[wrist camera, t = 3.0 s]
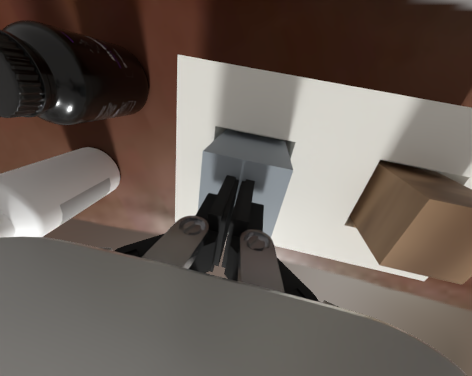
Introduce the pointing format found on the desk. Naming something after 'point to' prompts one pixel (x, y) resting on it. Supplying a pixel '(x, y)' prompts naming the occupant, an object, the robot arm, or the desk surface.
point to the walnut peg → (417, 222)
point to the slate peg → (248, 170)
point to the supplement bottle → (66, 76)
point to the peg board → (316, 146)
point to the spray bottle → (54, 191)
